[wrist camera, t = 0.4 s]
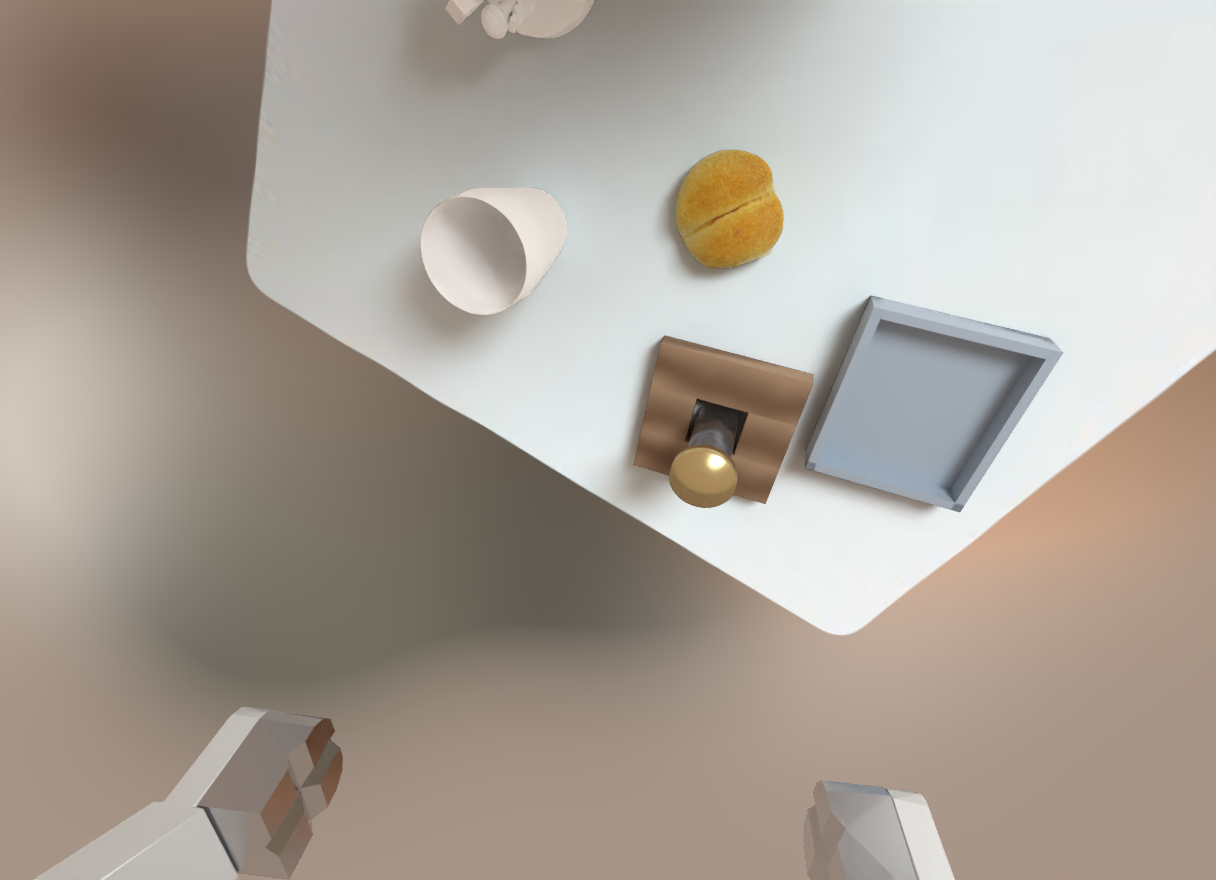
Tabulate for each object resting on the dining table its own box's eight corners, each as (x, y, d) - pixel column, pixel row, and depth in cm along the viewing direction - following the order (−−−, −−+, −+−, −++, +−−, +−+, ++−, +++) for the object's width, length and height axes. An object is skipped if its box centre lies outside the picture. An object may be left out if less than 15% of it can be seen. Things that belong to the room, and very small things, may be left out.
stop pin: (697, 385, 57) (677, 443, 48) (754, 401, 56) (744, 463, 47) (684, 433, 60) (662, 496, 51) (738, 448, 59) (725, 515, 50)
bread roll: (758, 130, 45) (755, 133, 42) (793, 240, 48) (793, 252, 45) (661, 177, 49) (651, 184, 45) (700, 277, 52) (693, 290, 49)
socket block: (664, 335, 55) (660, 343, 54) (813, 374, 53) (813, 383, 52) (637, 454, 63) (633, 464, 61) (766, 492, 61) (765, 504, 59)
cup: (470, 208, 54) (396, 236, 45) (542, 151, 50) (478, 167, 40) (525, 292, 57) (467, 336, 47) (599, 245, 53) (552, 282, 43)
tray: (870, 295, 49) (874, 306, 46) (1049, 338, 47) (1063, 352, 44) (805, 451, 57) (805, 468, 55) (952, 493, 55) (960, 512, 53)
